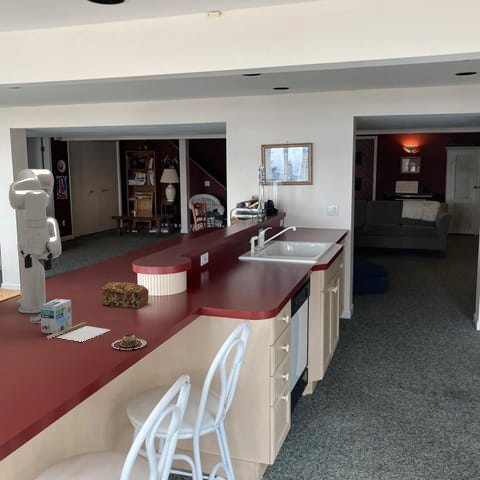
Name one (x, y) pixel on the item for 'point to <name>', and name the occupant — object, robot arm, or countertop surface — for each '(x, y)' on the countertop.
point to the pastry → (129, 341)
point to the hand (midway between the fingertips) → (38, 268)
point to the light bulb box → (56, 316)
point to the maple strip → (66, 330)
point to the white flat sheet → (84, 333)
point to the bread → (124, 295)
